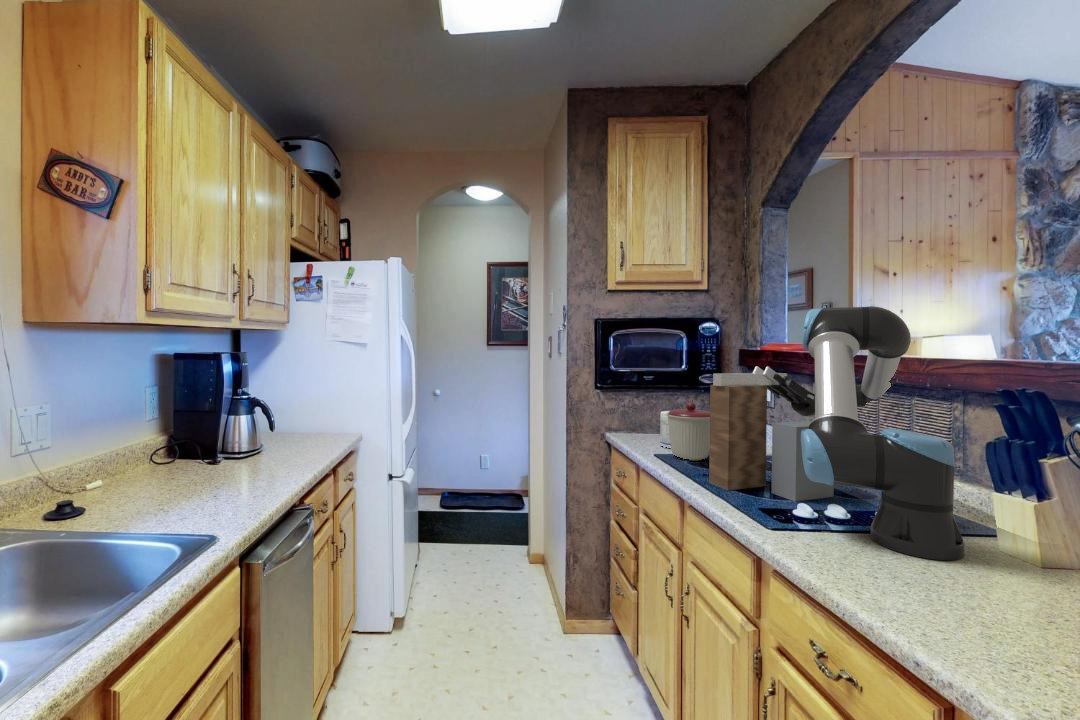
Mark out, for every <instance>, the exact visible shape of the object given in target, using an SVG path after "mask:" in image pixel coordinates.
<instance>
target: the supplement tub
mask: <svg viewBox="0 0 1080 720" xmlns="http://www.w3.org/2000/svg"><path fill="white" fill-rule="evenodd" d="M670 411H671V410H664V411H663V410H662V411H660V416H659V418H660V419H659V420H660V421H659V422H660V425H659V426H660V427H659V428H660V429H659V431H660V433H659V437H660V438H659V439H660V440H659V442H660V443H662V444H664V445H670V446H671V443H670V434H669V424H668V416H667V415H666V413H669V412H670ZM660 443H659V444H660Z"/></svg>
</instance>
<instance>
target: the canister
mask: <svg viewBox="0 0 1080 720" xmlns="http://www.w3.org/2000/svg"><path fill="white" fill-rule="evenodd" d="M685 407H686V408H676V409H671V410H669V411H670V412H669V413H666V415H667V416H668V424H669V434H670V443H671V453H672V455H673V456H674V455H675V456H677V457H680V458H683V459H682V460H684V459H689V460H688V461H703V460H702V459H704V460H706V459H707V458H708V457H709V455H710V410H703V409H698V408H697V406H696V403H695V402H692V401H691V402H690V401H689V402H687V403H686V405H685ZM675 456H674V457H675ZM677 457H676V458H677ZM680 458H679V459H680ZM705 458H706V459H705Z"/></svg>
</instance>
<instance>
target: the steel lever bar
mask: <svg viewBox="0 0 1080 720" xmlns="http://www.w3.org/2000/svg"><path fill="white" fill-rule="evenodd" d="M777 373H778V374H779V375H780V376H782V377H783V378H784V376H787V377H788V373H785V372H784V373H782V372H777ZM712 375H713V376H712V377H713V378H712V380H713V381H712V382H713V383H712V385H715V386H752V385H777V384H775V383H774V382H773V381H771V380H770V379H769V378H767V377H766V376H764V375H763V373H753V372H747V373H746V372H744V373H743V372H741V373H740V372H739V373H736V372H735V373H730V372H729V373H726V372H725V373H713V374H712ZM779 385H780V384H779Z"/></svg>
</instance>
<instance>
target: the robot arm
mask: <svg viewBox="0 0 1080 720" xmlns="http://www.w3.org/2000/svg"><path fill="white" fill-rule="evenodd" d="M801 344H802V349H803V350H805V351H808V354H809V355H810V356H811V357H812V358H813V359H814V393H813V392H811V391H809V390H808V389H806V388H805V387H803V386H802V385H801V384H799V383H798V382H797V381H795V380H793V379H791V378H790V379H789V376H788V375H787V376H784V378H783V377H782V376H780V375H779V374H778V373H779V372H776V371H775V370H774V369H772V368H771V367H770V366H766V367H765V369H762V368H761V367H759V366H755V367H754V369H753V371H752V373H763V375H764V376H766V377H767V378H769V379H770V380H771V381H773V382H774V383H775V384H777V385H763V386H767V391H769V392H770V393H772V394H773V395H774V396H775V397H776V398H777V399H781V398H783V399H784V400H786V401H787V402H789V403H790V405H791V408H792V410H793V411H795V412H796V413H798V414H799V415H801V416H802V417H803V418H804V419H806V421H812V422H811V423H810V424H809V426H808V429H806V430H802V431H801V447H802V457H803V464H804V470H805V473H806V476H807V477H808V478H809V479H810V480H811V481H814V482H819V483H825V484H827V485H834V486H842V487H850V488H858V489H865V490H866V489H867V490H873V491H875V490H876V491H881V494H880V496H881V497H880V499H881V501H880V504H879V506H878V509H877V510H876V513H875V516H874V518H873V520H872V523H871V525H870V538H871V540H873V542H875V543H877V544H878V545H880V546H882V547H885V548H888V549H890V550H892V551H896V552H898V553H901V554H904V555H908V556H914V557H918V558H923V559H929V560H940V561H954V560H955V561H956V560H960V559H963V558H964V557H965V543H964V540H963V536H962V534H961V531H960V529H959V525H958V523H957V521H956V518H955V514H954V498H955V497H954V493H955V467H956V460H955V450H954V447H953V445H952V444H951V442H949V441H948V440H946V439H943V438H942V437H939V436H935V435H930V434H926V433H923V432H922V433H920V432H916V431H913V430H911V431H910V430H905V429H899V428H889V427H888V428H887V427H886V428H883V430H882V431H881V433H880V434H881V435H880V434H871V433H869V434H868V429H867V426H866V425H865V424H864V423H863V422H862V421H861V420H859V413H858V408H859V407H863V406H865V404H866V403H867V402H870V401H872V400H874V399H877V398H878V397H880V396H882V395H883V394H884V393H885V392H886V391H887V390H888V389H889V388H890V387H891V383H890V382H889V381H890V380H891V378H892V377H893V376H894V374H895V372H896V373H897V371H896V370H898V367H899V364H900V361H901V358H902V356H904V355H906V353H907V352H908V350H909V347H910V345H911V332H910V329H909V327H908V325H907V324H906V322H905V321H904V320H903V319H902V318H901V317H900V316H898V315H897V314H896V313H895V312H893V311H892V310H889V309H887V308H883V307H881V306H880V307H879V306H872V305H870V306H850V307H847V306H846V307H845V306H844V307H822V308H812V309H809V310H808V312H807V313H806V315H805V319H804V323H803V331H802V343H801ZM859 351H868V354H867V357H866V358H867V359H866V362H865V367H864V372H863V377H862V381H861V384H856V376H855V363H854V361H855V360H854V358H855V357H856V356H857V355H858V354H859ZM895 375H896V374H895ZM779 384H780V385H779ZM860 385H861V386H860Z"/></svg>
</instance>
